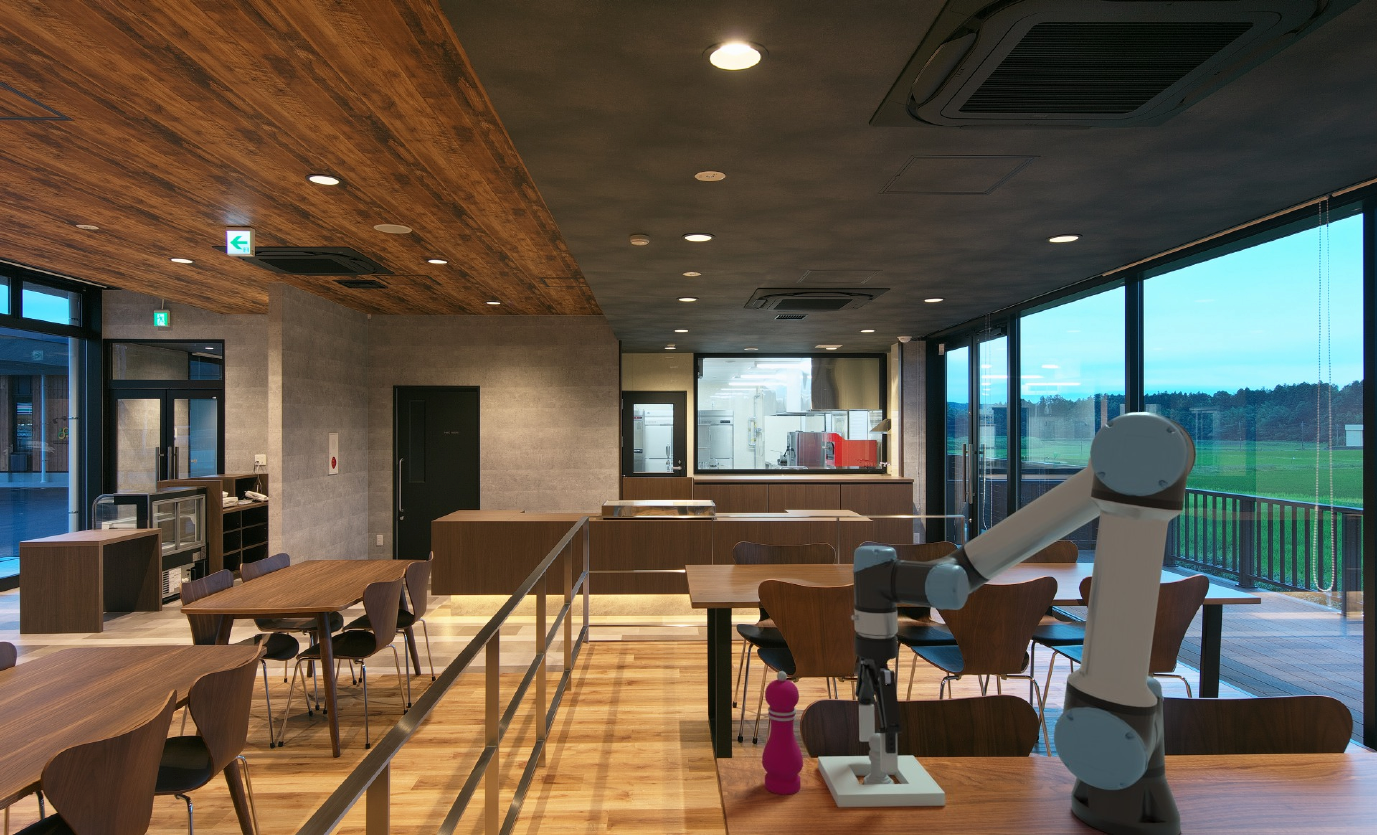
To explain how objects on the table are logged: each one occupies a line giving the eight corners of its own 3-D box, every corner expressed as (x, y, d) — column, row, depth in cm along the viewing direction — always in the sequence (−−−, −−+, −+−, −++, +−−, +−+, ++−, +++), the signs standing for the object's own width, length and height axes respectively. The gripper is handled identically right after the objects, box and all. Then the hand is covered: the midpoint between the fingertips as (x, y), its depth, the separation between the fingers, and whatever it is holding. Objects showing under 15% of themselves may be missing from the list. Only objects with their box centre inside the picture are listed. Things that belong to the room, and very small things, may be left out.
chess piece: (900, 787, 131) (899, 734, 131) (880, 794, 128) (879, 741, 128) (877, 776, 135) (876, 726, 136) (856, 784, 132) (855, 732, 133)
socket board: (913, 766, 140) (912, 755, 140) (945, 805, 124) (945, 793, 124) (818, 767, 139) (818, 756, 139) (838, 807, 123) (838, 794, 123)
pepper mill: (802, 779, 134) (801, 666, 135) (804, 797, 127) (803, 677, 128) (762, 777, 135) (761, 665, 136) (762, 795, 128) (761, 676, 129)
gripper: (838, 619, 145) (839, 730, 144) (874, 651, 121) (876, 785, 119) (876, 618, 146) (878, 729, 144) (920, 651, 121) (922, 785, 120)
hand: (877, 755), depth 132 cm, fingers open, 13 cm apart
